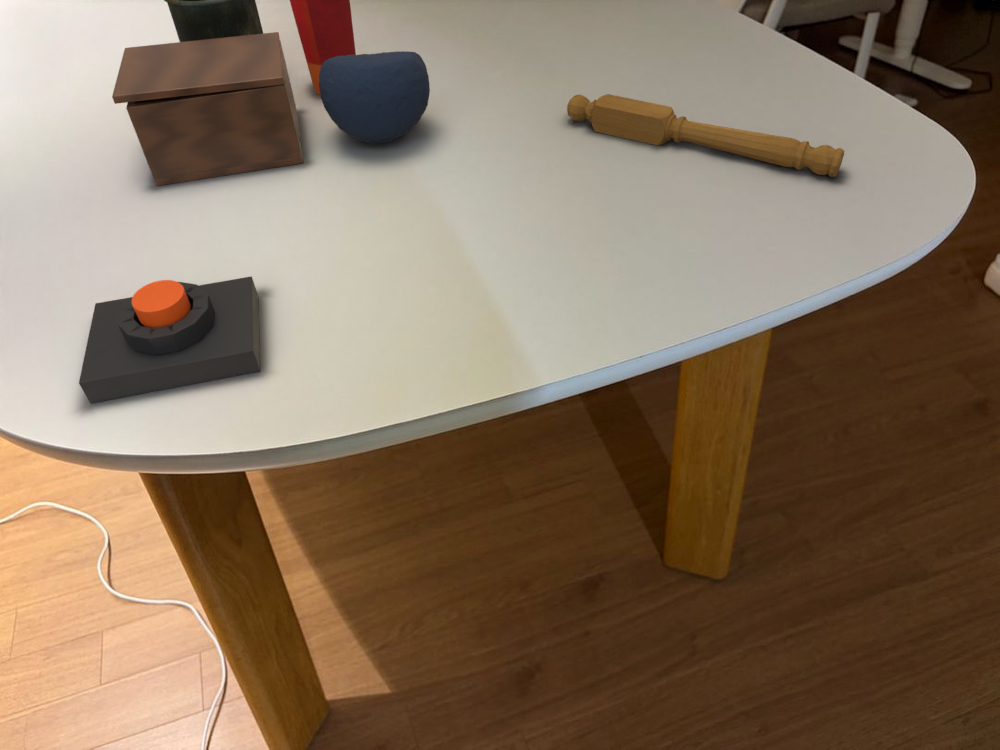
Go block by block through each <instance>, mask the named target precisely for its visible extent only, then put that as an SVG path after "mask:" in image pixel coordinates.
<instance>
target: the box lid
mask: <svg viewBox="0 0 1000 750" xmlns="http://www.w3.org/2000/svg"><path fill="white" fill-rule="evenodd" d="M280 41H281V36H280V33H279V31H274V32H263V34H254V35H244V36H235V37H225V38H216V39H206V40H196V41H187V42H180V41H177V42H169V43H160V44H150V45H149V44H148V45H140V46H139V45H138V46H130V47H129V46H128V47H125V48H124V50H123V54H122V57H121V61H120V65H119V68H118V73H117V75H116V76H117V77H116V80H115V84H114V87H113V88H114V89H113V92H112V94H111V97H112V101H113V103H114V104H124V103H126V104H127V103H128V102H134V101H143V100H152V99H161V98H169V97H178V96H187V95H196V94H204V93H213V92H222V91H231V90H239V89H248V88H257V87H266V86H275V85H283V84H284V74H283V65H282V55H281V45H282V44H281V45H280Z"/></svg>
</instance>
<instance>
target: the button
mask: <svg viewBox="0 0 1000 750" xmlns="http://www.w3.org/2000/svg"><path fill="white" fill-rule="evenodd" d="M179 282H180V281H176V280H171V279H163V280H161V279H160V280H156V281H152V282H150V283H147V284H145V285H143V286H142V287H140V288H139V289H138V290H137V291H135V293H134V294H133V296H131V297H132V306H133V308H134V310H135V312H136V314H137V316H138V319H139V321H140V323H141V324H142V325H144V326H145V327H149V328H159V327H164V326H170V325H172V324H174V323H176V322H177V321H179V320H181V319H183V318H185V317H186V316H187V314H188V313H189V312H190V309H191V305H190V302H189V300H188V297H187V295H186V292H185V290H184V287H183V286H182V285H181V284H180V283H179Z"/></svg>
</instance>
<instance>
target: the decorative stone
mask: <svg viewBox="0 0 1000 750" xmlns="http://www.w3.org/2000/svg"><path fill="white" fill-rule="evenodd" d="M429 78H430V77H429V72H428V68H427V65H426V63H425V61H424V60H423V58H422V56H421V55H420V54H419V53H417V52H415V51H408V50H407V51H406V50H405V51H398V50H397V51H386V52H385V51H383V52H377V53H361V54H356V55H346V56H336V57H333V58H330V59H328V60H326V61H324V63H323V64H322V66H321V69H320V73H319V89H320V95H319V96H320V99H321V103H322V105H323V107H324V109H325V112H326V114H328V116H329V118H330V119H331V120H332V122H333V123H334V124H335V125H336V126H337V127H338V129H340V130H341V131H342V132H344V133H345V134H347V135H348V136H350V137H351V138H354V139H356V140H359V141H362V142H365V143H370V144H377V145H378V144H385V143H389V142H392V141H395V140H396V139H397V138H399V137H402V136H404V135H405V136H406V134H408V133H409V132H410V131H412V130H413V129H414V127H415V126H417V124H418V123H419V122H420V121H421V119H422V117H423V115H424V114H425V112H426V110H427V107H428V105H429V98H430V93H431V89H430V79H429Z"/></svg>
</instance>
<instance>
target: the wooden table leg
mask: <svg viewBox="0 0 1000 750" xmlns="http://www.w3.org/2000/svg"><path fill="white" fill-rule="evenodd" d="M566 106H567V107H566V111H567V115H568V116H569V118H570V119H571V120H574V121H576V122H582V121H584V120H586V119H587V120H588V121H589V122H590V123H591V125H592V129H593V130H594V132H596V133H601V134H604V135H605V134H606V135H610V136H614V137H618V138H623V139H627V140H632V141H636V142H641V143H645V144H649V145H654V146H660V145H663V144H665V143H667V142H668V141H669V142H670V141H671V139H672V140H673V141H674V142H675V143H678V144H679V143H681V142H682V141H685V142H688V143H693V144H696V145H700V146H704V147H707V148H711V149H715V150H719V151H723V152H726V153H730V154H735V155H738V156H742V157H747V158H750V159H754V160H758V161H762V162H765V163H769V164H773V165H777V166H780V167H785V168H794V169H796V170H799V171H801V170H802V169H803V168H808V169H810V170H811V171H812V172H813V173H815V174H817V175H819V176H820V175H821V176H825V175H828V176H829V177H830V178H835V177H837V175H838V173H839V171H840V169H841V166H842V163H843V161H844V156H845V149H843V148H842V147H837V148H835V147H833V146H831V145H827V144H823V145H819V146H815V147H814V146H811V145H810V141H807V140H805V141H804V140H803V141H800V140H798V139H797V138H793V137H787V136H780V135H776V134H770V133H769V134H768V133H763V132H758V131H757V132H756V131H751V130H744V129H739V128H733V127H727V126H723V125H722V126H721V125H716V124H714V125H713V124H709V123H703V122H697V121H691V120H688V118H687V117H686V116H679V117H677V114H675V110H674V109H673V107H672V106H669V105H665V104H659V103H653V102H649V101H645V100H640V99H635V98H630V97H624V96H620V95H614V94H610V93H606V94H603V95H601V96H599V97H598V98H597V99H594V100H593V101H590V100H589V98H588V97H586V96H585V95H583V94H575V95H573V97H571V98H569V101H568V103H567V105H566Z"/></svg>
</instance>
